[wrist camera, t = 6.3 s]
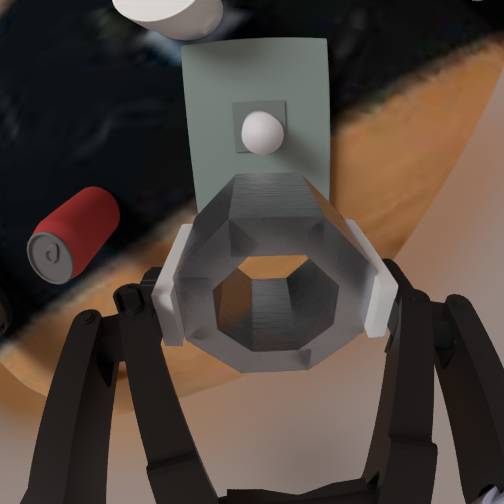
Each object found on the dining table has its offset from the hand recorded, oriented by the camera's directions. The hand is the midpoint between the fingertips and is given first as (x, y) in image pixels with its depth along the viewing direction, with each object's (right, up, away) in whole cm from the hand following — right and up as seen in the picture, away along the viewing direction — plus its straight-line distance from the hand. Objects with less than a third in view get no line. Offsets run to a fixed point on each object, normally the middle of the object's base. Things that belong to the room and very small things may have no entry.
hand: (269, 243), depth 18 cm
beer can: (-20, +5, +17) cm, 27 cm away
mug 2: (-9, +26, +6) cm, 28 cm away
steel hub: (0, 0, 0) cm, 0 cm away
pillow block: (0, +13, +13) cm, 18 cm away
